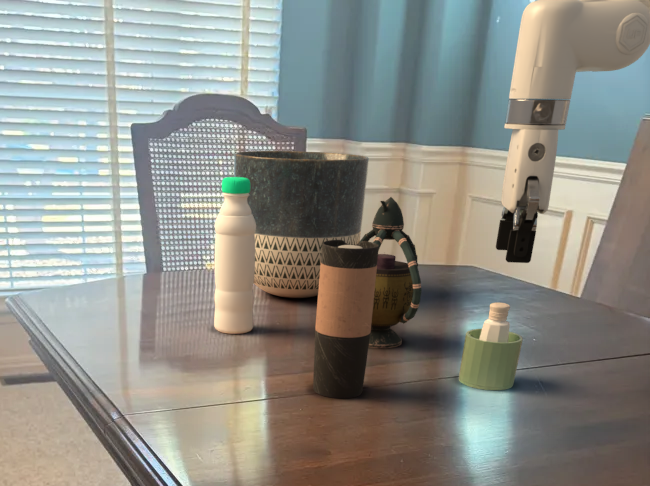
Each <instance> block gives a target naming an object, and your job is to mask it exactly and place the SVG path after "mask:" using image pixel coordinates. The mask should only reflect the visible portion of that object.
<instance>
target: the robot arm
mask: <svg viewBox="0 0 650 486" xmlns="http://www.w3.org/2000/svg"><path fill="white" fill-rule="evenodd" d="M516 43H517V44H516V49H515V57H514V61H513V62H514V63H513V70H512V74H511V75H512V76H511V82H510V88H509V95H508V100H507V101H508V102H507V107H506V113H505V121H504V126H503V128H504V129H509V130H512V131H511V137H510V142H509V147H508V152H507V157H506V163H505V169H504V175H503V176H504V177H503V183H502V190H501V199H500V200H501V201H500V202H501V205H502V206H503V208H502V211H501V216H500V217H501V218H500V219H499V225H498V231H497V238H496V242H495V249H496V250H497V251H506V253H505V261H506V262H507V263H516V264H519V263H520V264H529V263H530V262H531V261H532V256H533V250H534V245H535V240H536V235H537V231H536V230H537V225H538V218H539V214H541V215H543V214H545V213H547V211H548V210H549V206H550V200H551V193H552V187H553V180H554V173H555V166H556V160H557V151H558V141H559V131H561V130H566V124H567V121H568V116H569V110H570V106H571V105H570V104H571V99H572V94H573V88H574V84H575V78H576V74H577V73H583V72H586V73H587V72H592V73H593V72H595V73H596V72H597V73H599V72H612V71H613V72H614V71H618V70H622V69H625V68H628V67H629V66H631V65H632V64H634V63H635V62H637V61H638V60H639V59H641V57H642V56H643V55H644V54H645V53H646V52H647V50H648V48H649V47H650V0H533V1H532V2H531V1H530V3H528V4H527V6H525V8H524V10H523V12H522V14H521V19H520V23H519V31H518V37H517V42H516ZM538 213H539V214H538Z"/></svg>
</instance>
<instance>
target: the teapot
mask: <svg viewBox="0 0 650 486" xmlns="http://www.w3.org/2000/svg"><path fill="white" fill-rule="evenodd" d="M379 202H380V204H381V205H380V206H379V208H378V209H377V211H376V213H375V215H374V218H373V221H372V226H371V227H372V229H371V230H370V231H368V232H367V233H365V234H364V235H363V236H362V238H360V242H362V241H367V242H370V240H371V239H372V238H374V237H375V238H374V239H373V241H372V243H376V244H378V246H379V250H378V252H379V251H380V248H381V245H382V244H383V242H384V241H385V240H386V241H387V240H388V241H392V240H394V241H396V242H397V244H398V245H399V247H400V249H401V251H402V252H403V255H404V257H405V259H406V262H404V261H399V260H396V259H397V257H396V255H393V254H388V253H378V260H377V271H376V281H375V291H374V302H373V312H372V323H371V332H370V340H369V347H368V348H372V349H390V348H397V347H398V346H401V345H402V341H403V340H402V337H400V336H399V334H398V333H397V332H396V331H395V330H394V329H392V328H391V327H393V326H396V325H398V324H399V323H401V324H406V323H408V322H409V321H411V320H412V319H413V318H415V316H416V314H417V312H418V310H419V306H420V303H421V297H422V281H421V276H420V271H419V263H418V254H417V250H416V245H415V243H413V241H412V239H411V237H410V235H409V234H407V233H406V232H405V231H403V230H404V226H405V222H404V216H403V212H402V209H401V207H400V205H399V203H398V201H396V200H395V199H394V198H393V197H392V196H390V197H389V198H388V199H386V200H380V201H379ZM360 242H359V243H360ZM359 243H357V244H359Z"/></svg>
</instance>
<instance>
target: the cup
mask: <svg viewBox="0 0 650 486" xmlns="http://www.w3.org/2000/svg"><path fill="white" fill-rule="evenodd" d="M481 331H482V328H473V329H470V330H467V331H466V332H465V336H464V343H463V348H462V355H461V359H460V366H459V373H458V381H459V382H460V383H461V384H463V385H464V386H467V387H470V388H474V389H477V390H483V391H484V390H485V391H504V390H509V389H511V388H512V387H513V386H514V383H515V381H516V380H515V379H516V374H517V370H518V366H519V359H520V356H521V355H520V354H521V350H522V345H523V340H524V338H523V336H522V335H520V334H518V333H516V332H512V331H509V338H508V342H490V341H484V340H480V339H479V338H480V335H481Z"/></svg>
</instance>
